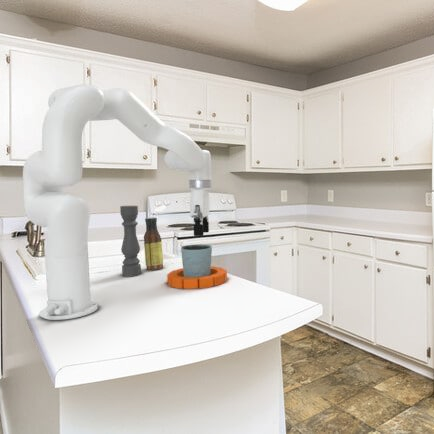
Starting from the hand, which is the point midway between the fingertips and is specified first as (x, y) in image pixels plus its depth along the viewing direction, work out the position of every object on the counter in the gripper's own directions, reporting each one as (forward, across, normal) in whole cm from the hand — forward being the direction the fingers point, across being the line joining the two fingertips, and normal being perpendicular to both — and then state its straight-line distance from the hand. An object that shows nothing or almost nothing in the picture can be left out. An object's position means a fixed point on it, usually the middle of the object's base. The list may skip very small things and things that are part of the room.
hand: (201, 233), depth 145 cm
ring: (+15, +8, 0) cm, 17 cm away
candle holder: (+16, -3, -26) cm, 30 cm away
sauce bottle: (+16, -12, -21) cm, 29 cm away
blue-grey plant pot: (+16, +8, 0) cm, 17 cm away
